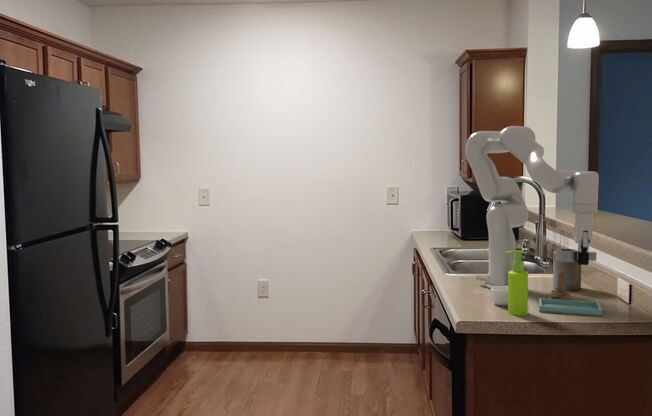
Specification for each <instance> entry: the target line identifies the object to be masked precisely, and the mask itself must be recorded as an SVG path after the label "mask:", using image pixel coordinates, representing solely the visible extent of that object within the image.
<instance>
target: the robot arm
mask: <svg viewBox="0 0 652 416" xmlns="http://www.w3.org/2000/svg"><path fill="white" fill-rule="evenodd" d="M464 152H465V156H466V160H467V162H468V164H469V166H470V169H471V171H472V174H473V176H474V178H475V182H476V184H477V187H478V190H479V192H480V195H481V196H482V199H484V201H486V202H489V203H497V204H493V205H492V206H490V208H489V209H488V211H487V212H486V225H487V231H488V272H487V274H484V275H483V274H476V280H477V281H478V280H479V281H484V283H483V284H484V287H485V288H486V289H487V288H488V289H491V287H493V286H508V272H509V271H513V261H514V260H516V253H512V254H507V253H505V252H507V251H511V250H516V237H515V234H514V231H513V228H517V227H522V226H524V225H525V224H526V223H527V222H528V220H529V210H528V209H529V208H528V206H527V204H526V202H525V199H524V197H523V194H522V191H521V189H520V187H519V185H518V183H517V182H516V181H515V180H514V179H513V178H512V177H510V176H509V177H508V176H500V175H499V172H498V170H497V168H496V165H495V163H494V162H493V160H492V159H491V158H490V157H489V156H488V154H501V153H502V154H503V153H509V152H510V154H512V155H513V156H514V157H515V158H516V159H518V160H519V161H520V162H521V163H522V164H523V165H525V169H526V171H527V174H528V175H529V177H530V178H531V179H532V180H533V181H534V182H535V183H536V184H537V185H539V186H540V187H541V188H542V189H544V190H545V191H546V192H549V193H552V194H559V193H571V192H572V214H575V216H574V228H573V229H574V231H573V240H574V243H575V244H578V246H577V251H579V252H578V260H577V262H578V264H579V265H581V266H588V265H589V263H590V260H589V252H590V251H589V249H590V246H589V245H591V244H592V242H593V232H594V231H593V230H594V215H597V214H598V206H599V205H598V204H599V202H598V201H599V182H600V181H599V179H600V177H599V173H598V172H597V171H590V170H588V171H587V170H585V171H584V170H582V171H580V170H579V171H578V170H572V169H571V170H570V169H563V170H562V169H561V170H560V169H558V170H557V169H555V168H553V167H552V166H550V165H549V164H548V163H547V162H546V161H545V160H544V159H543V156H544V154H545V149H544V147H543V146H542V144H540V143H538V142H537V141H536V134H535V131H534V130H533V129H532V128H531V127H529V126H522V125H510V126H509V125H508V126H506V127H505V128H503V129H502V130H480V131H475V132H474V133H472V134H471V135H470V136H469V137H468V138H467V140H466V143H465V151H464ZM498 202H500V203H498Z"/></svg>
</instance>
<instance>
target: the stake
mask: <svg viewBox="0 0 652 416" xmlns="http://www.w3.org/2000/svg"><path fill="white" fill-rule="evenodd" d="M564 279H565V270H564V269H558V289H551V292H550V293H551V295H549V294H548V295H547V299H561V300H574V297H573V296H571V295H572V294H571V292H572V291H567V290H564Z"/></svg>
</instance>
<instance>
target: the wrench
mask: <svg viewBox="0 0 652 416" xmlns="http://www.w3.org/2000/svg"><path fill="white" fill-rule="evenodd" d="M555 251H556V261H561V262H577V260H578V252H579V251H578V249H574V248H565V247H563V248H556V249H555ZM589 261H591V262H592V261H593V262H594V261H595V262H597V252H596V251H589Z"/></svg>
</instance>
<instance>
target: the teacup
mask: <svg viewBox="0 0 652 416" xmlns="http://www.w3.org/2000/svg"><path fill="white" fill-rule="evenodd" d="M490 296H491V297H490V298H491V300H492V302H493V303H494V304H495V305H496V306H501V307H508V286H493V287H491V288H490Z"/></svg>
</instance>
